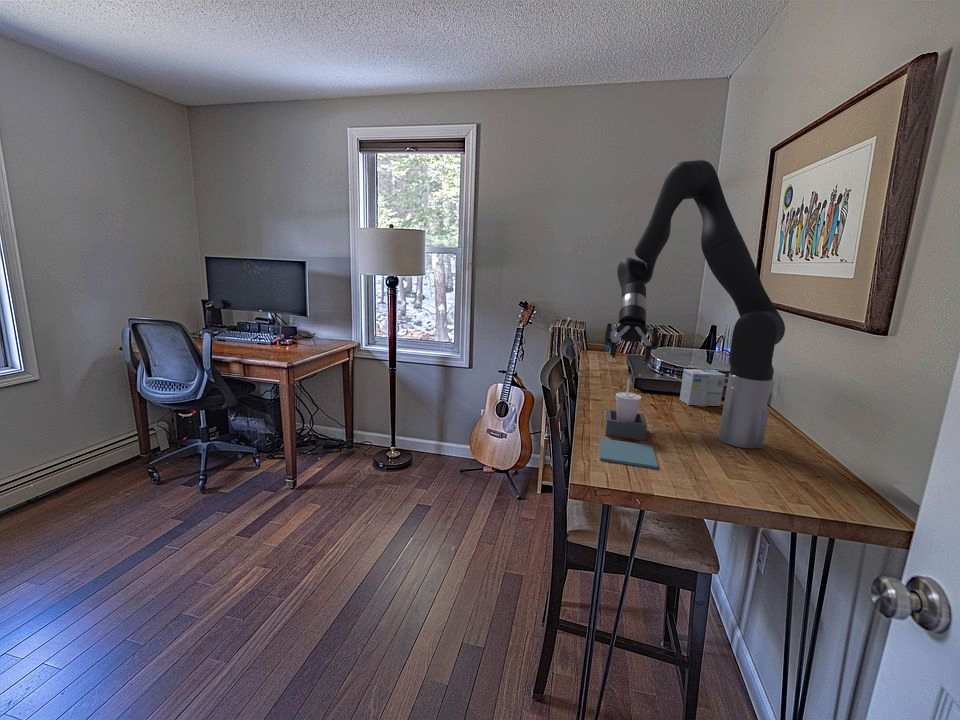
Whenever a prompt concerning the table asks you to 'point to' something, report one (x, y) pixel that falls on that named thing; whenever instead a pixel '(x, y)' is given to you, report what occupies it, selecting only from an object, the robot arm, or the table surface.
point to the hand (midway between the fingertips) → (629, 357)
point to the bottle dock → (625, 426)
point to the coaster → (627, 453)
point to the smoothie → (627, 405)
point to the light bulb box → (702, 387)
